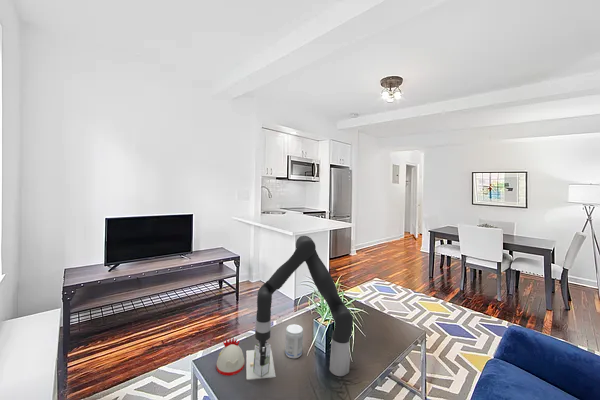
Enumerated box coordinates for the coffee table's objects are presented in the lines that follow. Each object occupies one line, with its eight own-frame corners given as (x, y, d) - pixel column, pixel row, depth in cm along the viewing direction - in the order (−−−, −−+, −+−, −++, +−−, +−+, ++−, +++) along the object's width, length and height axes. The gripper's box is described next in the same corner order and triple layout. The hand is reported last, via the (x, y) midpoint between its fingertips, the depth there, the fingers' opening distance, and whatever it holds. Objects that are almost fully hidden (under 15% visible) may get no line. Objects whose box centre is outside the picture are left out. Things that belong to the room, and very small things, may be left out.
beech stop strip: (269, 363, 141) (269, 361, 141) (269, 365, 140) (270, 362, 140) (250, 364, 139) (250, 362, 139) (250, 366, 138) (250, 364, 138)
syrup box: (261, 366, 139) (263, 339, 138) (269, 372, 135) (271, 344, 134) (253, 372, 134) (254, 344, 133) (260, 378, 130) (262, 349, 130)
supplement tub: (298, 347, 157) (300, 323, 156) (304, 357, 148) (306, 331, 147) (282, 349, 154) (284, 325, 153) (287, 360, 145) (289, 334, 144)
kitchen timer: (215, 359, 142) (216, 332, 141) (241, 355, 147) (243, 328, 146) (217, 378, 129) (218, 348, 128) (246, 372, 134) (247, 343, 133)
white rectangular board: (271, 349, 154) (271, 348, 154) (275, 377, 132) (275, 376, 132) (246, 351, 151) (246, 350, 151) (246, 379, 129) (246, 379, 129)
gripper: (272, 335, 127) (270, 368, 128) (269, 320, 141) (267, 349, 142) (256, 336, 125) (254, 369, 126) (254, 321, 139) (253, 351, 140)
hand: (261, 359), depth 134 cm, fingers open, 8 cm apart
